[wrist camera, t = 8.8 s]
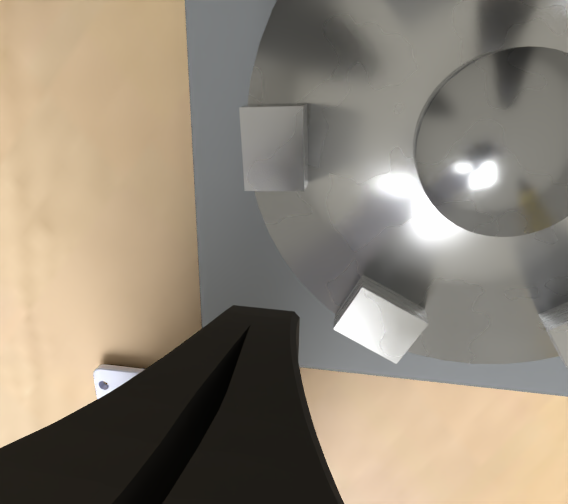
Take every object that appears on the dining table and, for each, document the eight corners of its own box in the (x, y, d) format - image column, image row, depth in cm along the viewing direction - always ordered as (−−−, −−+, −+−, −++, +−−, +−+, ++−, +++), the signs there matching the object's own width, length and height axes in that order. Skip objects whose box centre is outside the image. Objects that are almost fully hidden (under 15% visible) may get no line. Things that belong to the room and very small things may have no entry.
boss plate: (689, 387, 19) (717, 415, 18) (213, 338, 22) (202, 359, 21) (965, -272, 12) (1056, -321, 10) (189, -226, 15) (169, -259, 13)
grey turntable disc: (681, 344, 17) (863, 508, 11) (268, 323, 19) (224, 448, 13) (854, -190, 12) (1432, -481, 5) (245, -130, 14) (148, -283, 8)
